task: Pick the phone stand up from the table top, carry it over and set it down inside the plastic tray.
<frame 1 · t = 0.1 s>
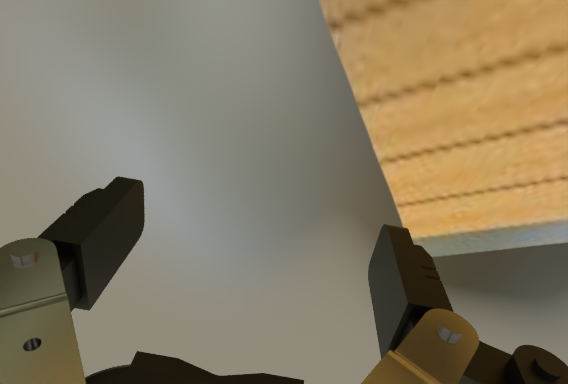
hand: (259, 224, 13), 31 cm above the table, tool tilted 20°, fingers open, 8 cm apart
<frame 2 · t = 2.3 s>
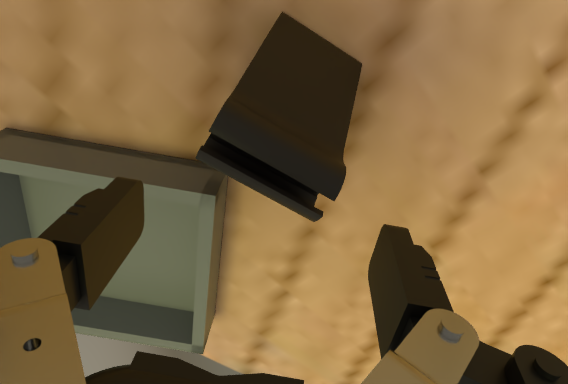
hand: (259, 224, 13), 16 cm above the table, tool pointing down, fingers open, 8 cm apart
tray: (123, 232, 33), on the table
phone stand: (287, 96, 27), on the table
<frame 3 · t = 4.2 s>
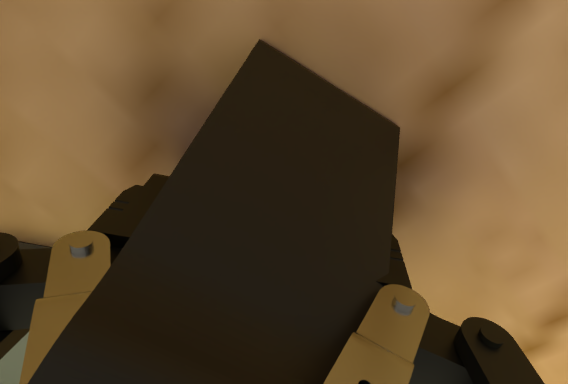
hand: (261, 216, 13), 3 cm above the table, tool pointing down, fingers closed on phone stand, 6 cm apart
tray: (38, 348, 23), on the table
phone stand: (272, 173, 16), on the table, touching gripper
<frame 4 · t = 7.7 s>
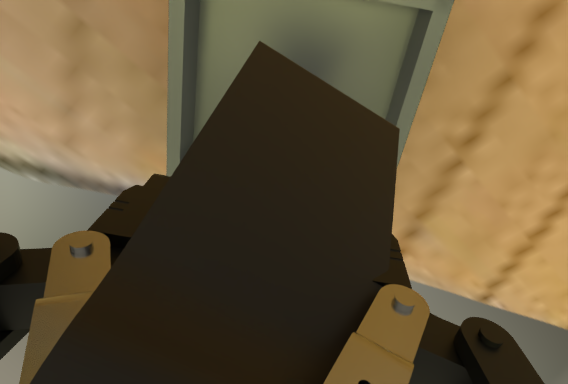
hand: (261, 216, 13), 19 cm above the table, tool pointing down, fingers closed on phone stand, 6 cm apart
tray: (294, 86, 30), on the table
phone stand: (272, 174, 16), point 16 cm above the table, touching gripper
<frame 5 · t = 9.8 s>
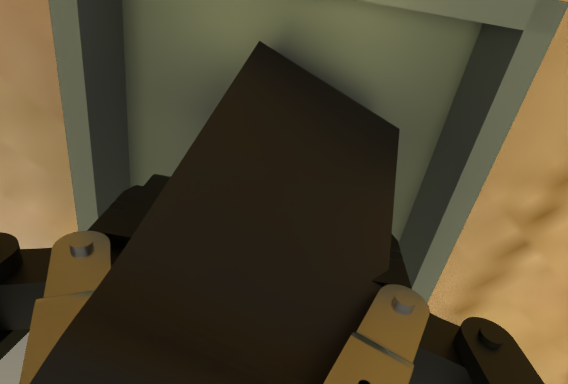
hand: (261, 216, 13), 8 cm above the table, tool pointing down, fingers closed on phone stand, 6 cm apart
tray: (279, 137, 20), on the table
phone stand: (272, 174, 16), point 4 cm above the table, touching gripper
when the fingers open (6 cm above the table, at t = 11.3 s): phone stand drops 1 cm, resting on tray.
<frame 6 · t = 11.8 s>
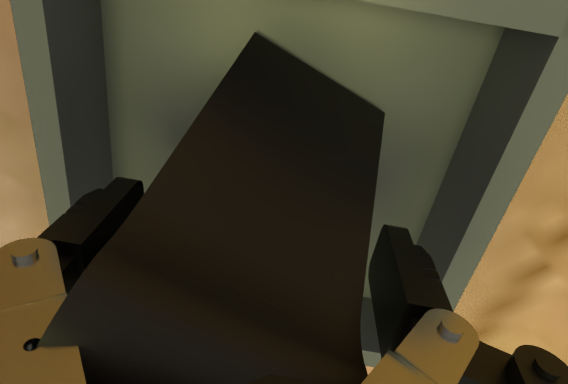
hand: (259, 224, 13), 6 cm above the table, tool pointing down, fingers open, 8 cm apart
tray: (276, 152, 18), on the table
phone stand: (268, 157, 17), point 1 cm above the table, touching tray
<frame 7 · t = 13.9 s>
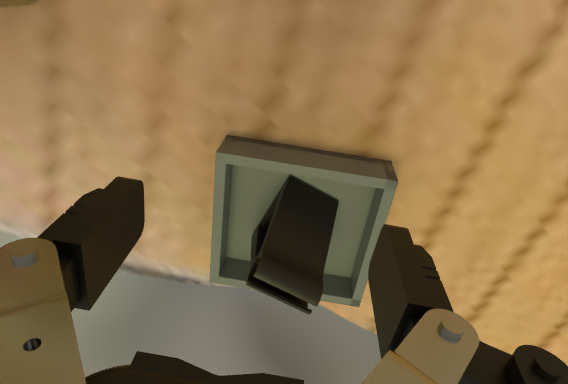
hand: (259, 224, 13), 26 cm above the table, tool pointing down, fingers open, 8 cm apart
tray: (297, 213, 43), on the table
phone stand: (293, 216, 43), point 1 cm above the table, touching tray
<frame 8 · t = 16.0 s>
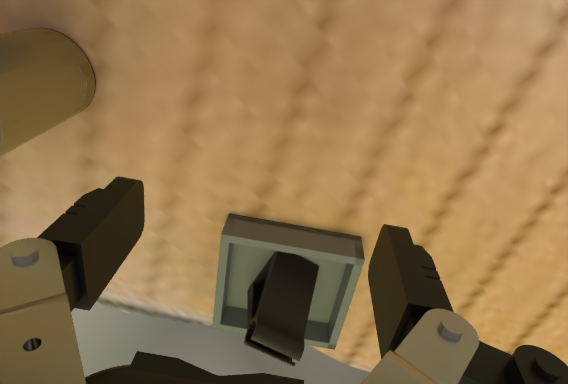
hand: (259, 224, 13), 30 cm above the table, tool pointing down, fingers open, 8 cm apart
tray: (285, 272, 53), on the table
phone stand: (282, 276, 52), point 1 cm above the table, touching tray
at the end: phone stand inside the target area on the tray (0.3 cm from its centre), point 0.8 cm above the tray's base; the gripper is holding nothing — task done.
